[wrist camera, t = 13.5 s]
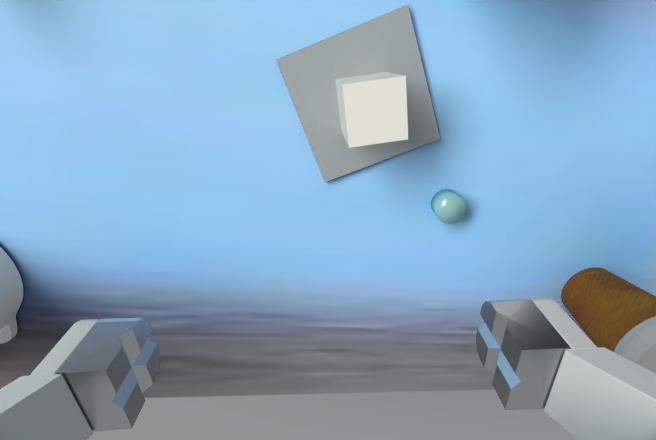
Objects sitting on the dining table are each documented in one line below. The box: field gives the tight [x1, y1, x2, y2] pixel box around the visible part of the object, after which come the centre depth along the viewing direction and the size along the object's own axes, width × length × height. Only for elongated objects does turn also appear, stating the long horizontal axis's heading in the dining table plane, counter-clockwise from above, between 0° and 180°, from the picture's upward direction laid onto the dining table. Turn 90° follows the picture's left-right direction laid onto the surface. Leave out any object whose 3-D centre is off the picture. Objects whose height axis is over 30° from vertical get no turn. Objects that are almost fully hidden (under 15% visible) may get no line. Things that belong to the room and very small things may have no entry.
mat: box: [276, 5, 440, 182], centre depth 33 cm, size 12×12×1 cm
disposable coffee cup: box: [561, 268, 656, 374], centre depth 39 cm, size 10×10×12 cm
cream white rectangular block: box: [335, 72, 408, 148], centre depth 30 cm, size 5×5×7 cm
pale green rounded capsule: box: [431, 189, 467, 224], centre depth 38 cm, size 3×3×2 cm
